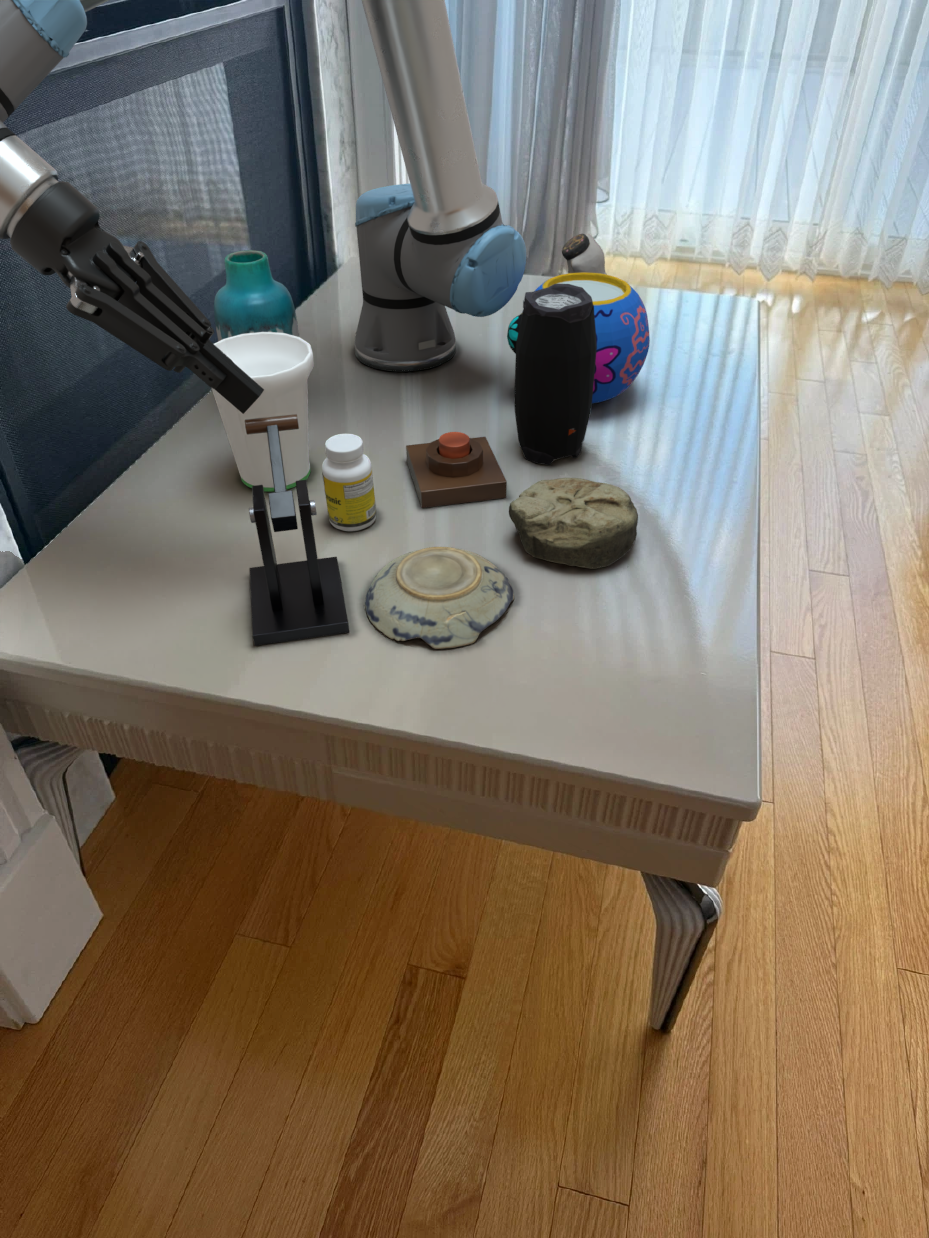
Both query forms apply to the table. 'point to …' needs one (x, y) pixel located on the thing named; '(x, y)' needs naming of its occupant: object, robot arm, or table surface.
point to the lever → (277, 468)
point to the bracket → (294, 583)
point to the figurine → (584, 255)
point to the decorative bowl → (438, 597)
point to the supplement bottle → (348, 483)
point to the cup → (269, 404)
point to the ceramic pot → (608, 330)
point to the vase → (252, 299)
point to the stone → (575, 522)
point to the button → (454, 445)
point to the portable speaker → (554, 372)
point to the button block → (455, 474)
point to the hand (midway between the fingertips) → (253, 401)
